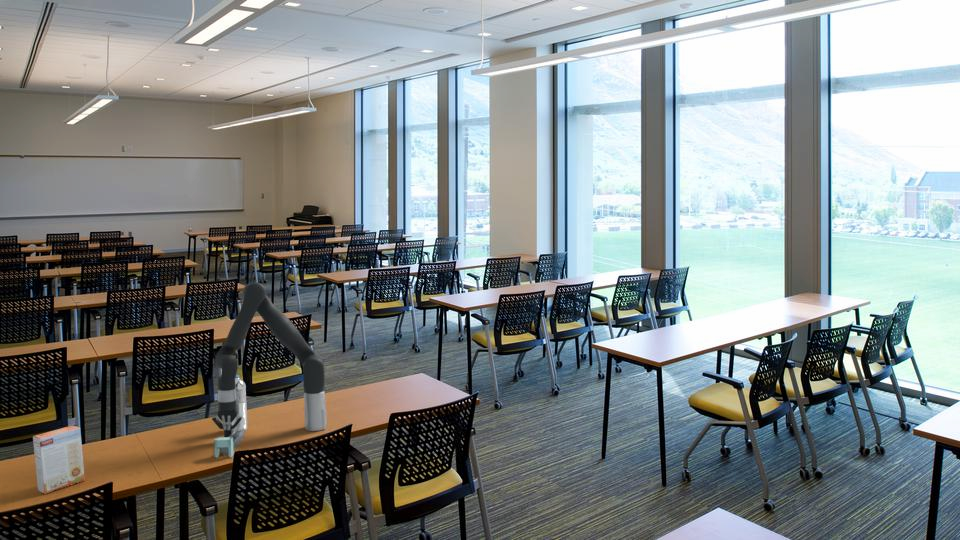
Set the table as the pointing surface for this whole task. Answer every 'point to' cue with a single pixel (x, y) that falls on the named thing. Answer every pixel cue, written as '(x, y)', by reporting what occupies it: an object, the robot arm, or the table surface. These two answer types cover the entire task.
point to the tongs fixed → (234, 442)
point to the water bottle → (240, 404)
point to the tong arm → (234, 433)
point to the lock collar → (223, 445)
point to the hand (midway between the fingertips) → (227, 437)
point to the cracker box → (58, 458)
